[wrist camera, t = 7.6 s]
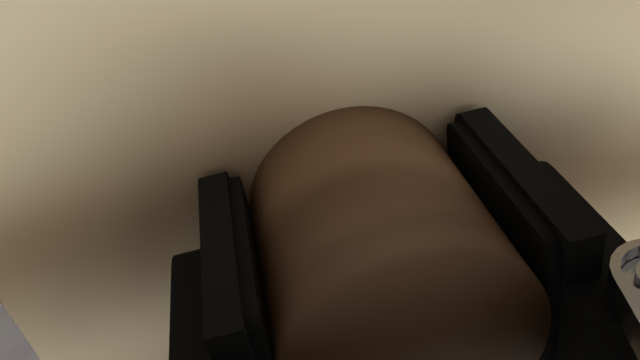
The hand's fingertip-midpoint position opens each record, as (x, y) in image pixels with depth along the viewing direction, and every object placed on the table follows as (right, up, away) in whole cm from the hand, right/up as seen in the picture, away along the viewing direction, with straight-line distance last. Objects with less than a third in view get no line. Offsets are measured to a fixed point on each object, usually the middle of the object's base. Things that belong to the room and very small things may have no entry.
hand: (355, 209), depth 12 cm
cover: (0, +1, +1) cm, 1 cm away
